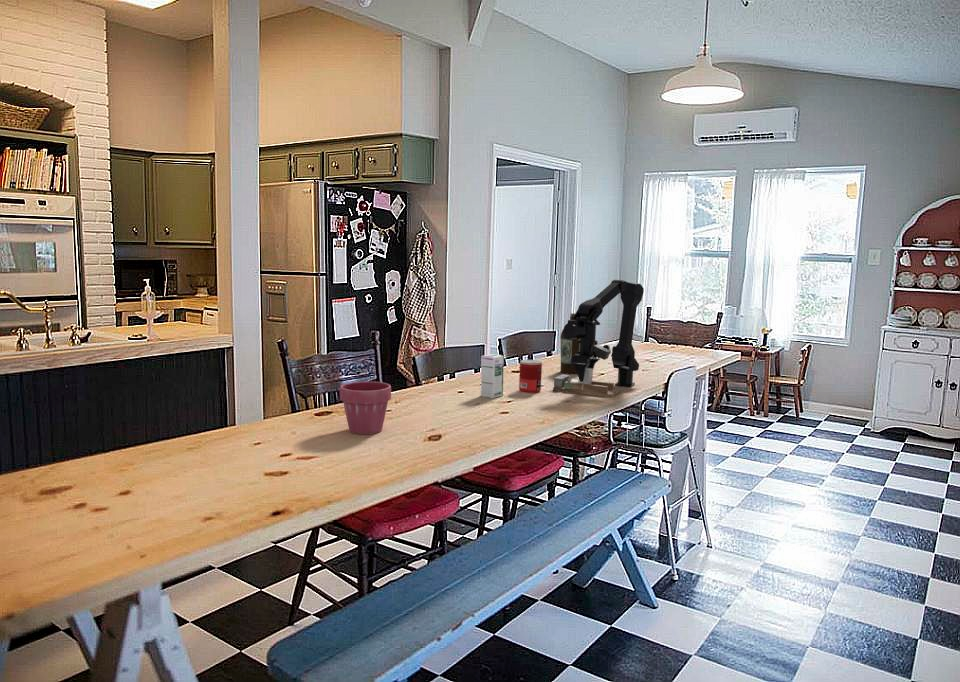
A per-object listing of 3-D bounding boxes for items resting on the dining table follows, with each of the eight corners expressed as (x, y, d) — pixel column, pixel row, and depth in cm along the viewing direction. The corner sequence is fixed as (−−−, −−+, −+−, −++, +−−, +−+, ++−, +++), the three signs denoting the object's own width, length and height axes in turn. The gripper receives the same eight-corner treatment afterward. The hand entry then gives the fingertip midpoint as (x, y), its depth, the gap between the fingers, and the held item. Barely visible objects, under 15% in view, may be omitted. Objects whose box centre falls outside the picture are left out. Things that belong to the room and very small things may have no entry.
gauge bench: (562, 385, 274) (563, 374, 273) (619, 392, 265) (620, 380, 264) (552, 390, 264) (553, 378, 264) (611, 397, 255) (611, 385, 254)
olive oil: (572, 369, 312) (574, 312, 308) (589, 373, 303) (592, 314, 300) (553, 371, 305) (556, 312, 302) (570, 375, 297) (573, 315, 294)
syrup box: (493, 398, 247) (494, 357, 246) (479, 395, 251) (481, 355, 249) (503, 396, 252) (504, 355, 250) (489, 393, 255) (490, 353, 254)
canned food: (541, 393, 258) (542, 363, 257) (519, 392, 259) (520, 362, 257) (540, 389, 266) (541, 359, 265) (518, 388, 266) (519, 359, 265)
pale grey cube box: (570, 384, 270) (571, 365, 269) (592, 387, 266) (593, 368, 265) (564, 387, 263) (564, 368, 262) (586, 390, 259) (587, 370, 258)
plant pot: (335, 425, 204) (335, 381, 203) (383, 422, 210) (384, 379, 208) (345, 438, 191) (345, 391, 190) (396, 435, 196) (397, 389, 195)
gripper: (601, 342, 250) (599, 386, 252) (616, 336, 267) (613, 378, 269) (571, 339, 255) (569, 382, 257) (587, 334, 272) (585, 374, 274)
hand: (585, 379), depth 264 cm, fingers open, 9 cm apart
